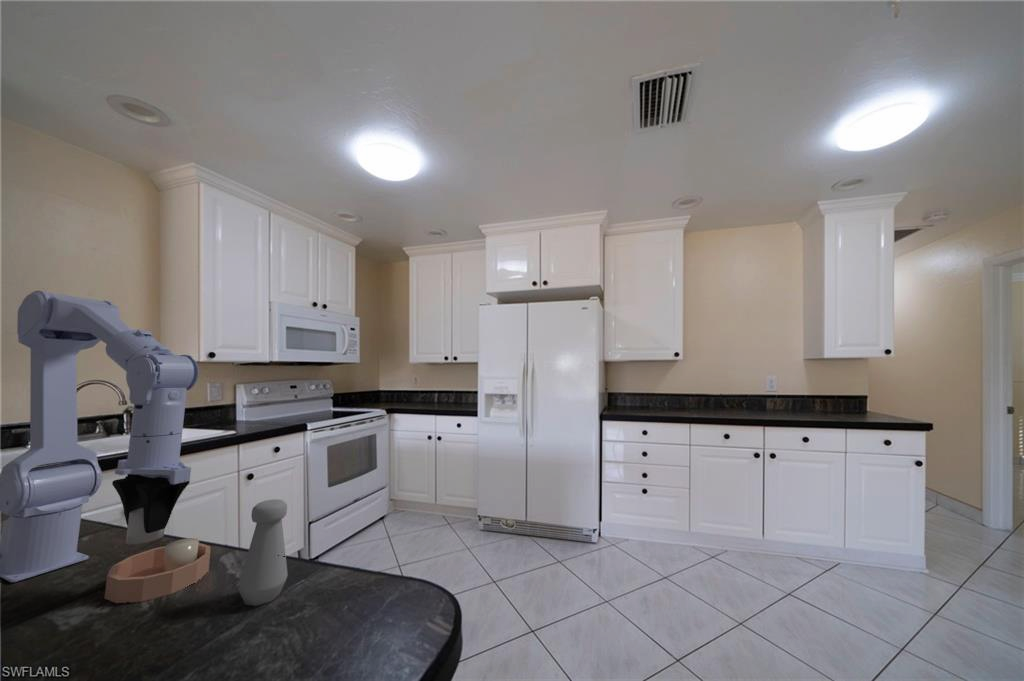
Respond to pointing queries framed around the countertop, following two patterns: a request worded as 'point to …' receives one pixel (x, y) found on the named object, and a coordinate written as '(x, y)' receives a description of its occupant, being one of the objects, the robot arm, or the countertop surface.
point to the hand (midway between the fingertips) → (146, 527)
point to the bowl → (152, 576)
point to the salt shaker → (265, 555)
